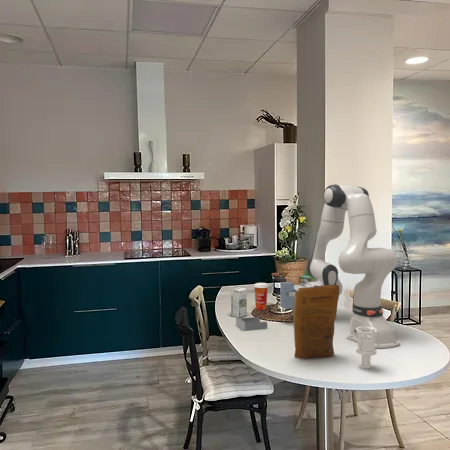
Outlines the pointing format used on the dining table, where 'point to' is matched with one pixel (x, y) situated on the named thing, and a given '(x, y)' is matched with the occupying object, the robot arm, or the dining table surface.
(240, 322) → the channel bracket
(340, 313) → the dining table surface
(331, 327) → the pancake mix bag
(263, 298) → the paper cup
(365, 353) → the white stepped cylinder
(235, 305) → the syrup box
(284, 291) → the block
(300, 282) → the chalk box
